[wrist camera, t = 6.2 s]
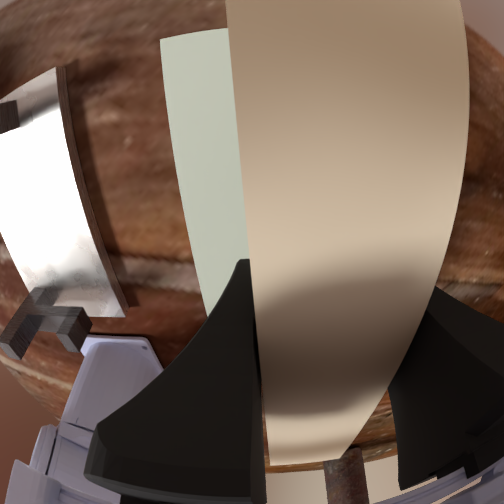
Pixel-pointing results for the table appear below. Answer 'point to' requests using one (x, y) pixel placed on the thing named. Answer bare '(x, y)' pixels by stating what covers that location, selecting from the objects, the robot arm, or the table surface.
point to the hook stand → (50, 220)
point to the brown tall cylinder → (346, 478)
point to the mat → (206, 154)
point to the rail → (344, 197)
